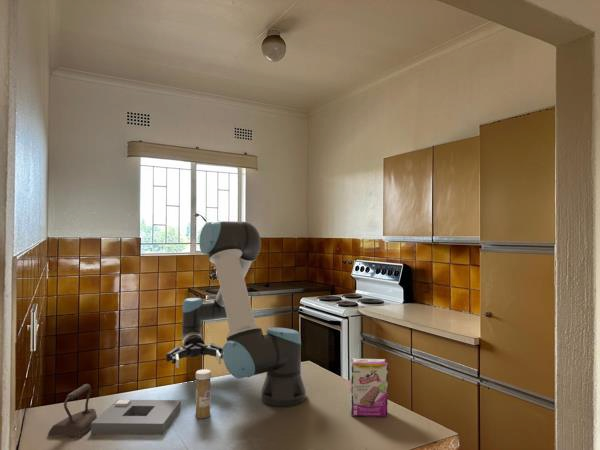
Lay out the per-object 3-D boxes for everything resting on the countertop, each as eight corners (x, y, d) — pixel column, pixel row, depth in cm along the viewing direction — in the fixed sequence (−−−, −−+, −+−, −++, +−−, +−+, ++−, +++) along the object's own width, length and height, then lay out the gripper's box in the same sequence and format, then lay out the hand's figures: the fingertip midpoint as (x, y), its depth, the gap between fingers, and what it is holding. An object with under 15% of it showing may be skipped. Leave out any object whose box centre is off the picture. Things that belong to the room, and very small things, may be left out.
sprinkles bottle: (205, 419, 120) (206, 374, 120) (192, 417, 121) (192, 372, 122) (213, 413, 124) (213, 369, 125) (200, 411, 126) (200, 368, 126)
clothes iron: (80, 439, 109) (81, 397, 109) (46, 437, 110) (47, 396, 110) (109, 416, 122) (110, 379, 123) (79, 414, 123) (80, 378, 124)
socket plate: (180, 409, 127) (180, 397, 127) (163, 434, 111) (163, 420, 111) (117, 409, 127) (117, 397, 127) (90, 434, 111) (91, 420, 111)
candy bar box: (351, 417, 122) (351, 362, 122) (349, 410, 127) (349, 357, 127) (388, 417, 122) (388, 363, 122) (385, 410, 127) (385, 358, 127)
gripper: (226, 351, 157) (236, 369, 137) (158, 357, 148) (158, 377, 128) (226, 332, 157) (236, 347, 137) (159, 336, 149) (159, 353, 129)
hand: (199, 361), depth 133 cm, fingers open, 13 cm apart
